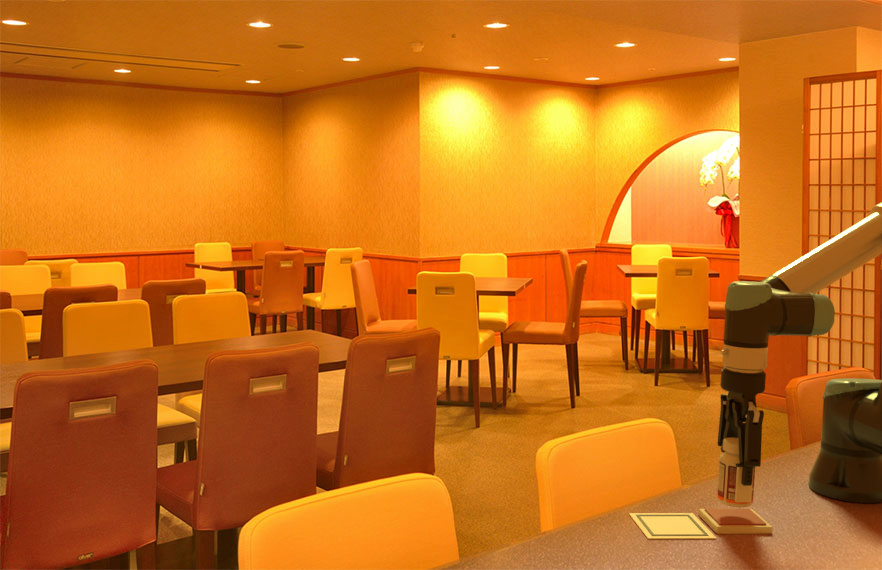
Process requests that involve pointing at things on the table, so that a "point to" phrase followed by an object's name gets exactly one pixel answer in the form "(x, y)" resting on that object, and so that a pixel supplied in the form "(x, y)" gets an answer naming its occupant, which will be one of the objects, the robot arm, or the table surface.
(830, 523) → the table surface
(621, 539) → the table surface
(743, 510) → the pad
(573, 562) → the table surface
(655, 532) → the paper sheet
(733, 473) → the pill bottle
